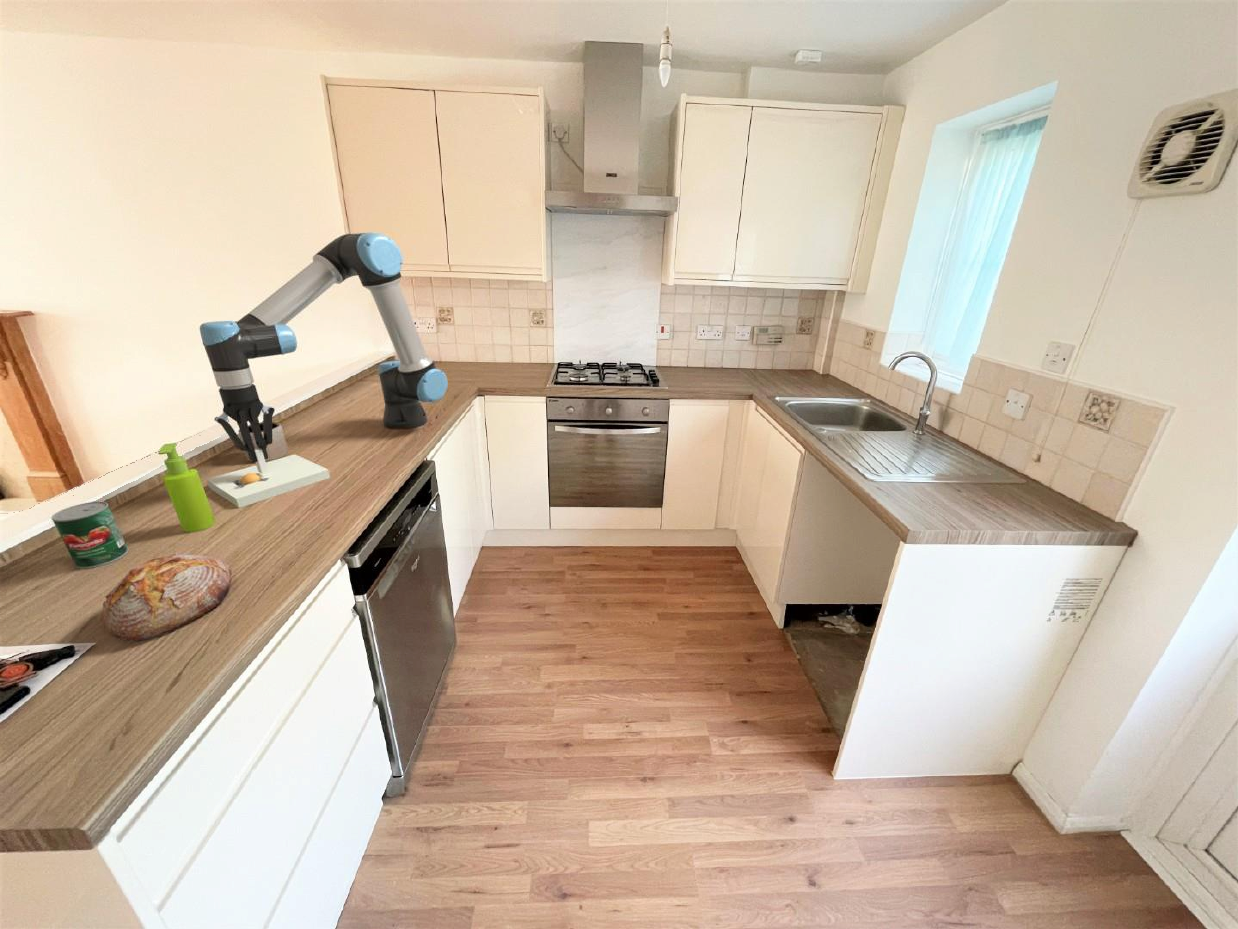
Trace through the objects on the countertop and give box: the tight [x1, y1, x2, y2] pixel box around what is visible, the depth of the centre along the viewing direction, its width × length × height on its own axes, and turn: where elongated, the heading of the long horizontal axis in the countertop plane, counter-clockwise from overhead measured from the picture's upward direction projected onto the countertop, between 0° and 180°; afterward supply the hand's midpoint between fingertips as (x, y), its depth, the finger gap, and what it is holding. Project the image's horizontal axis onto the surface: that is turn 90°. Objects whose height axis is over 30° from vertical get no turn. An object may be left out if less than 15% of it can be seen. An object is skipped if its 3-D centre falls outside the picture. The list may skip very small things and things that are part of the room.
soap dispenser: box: [157, 442, 217, 533], centre depth 109 cm, size 6×7×20 cm
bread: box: [102, 553, 233, 642], centre depth 86 cm, size 16×20×10 cm
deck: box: [205, 453, 331, 509], centre depth 134 cm, size 22×20×2 cm
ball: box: [242, 473, 260, 485], centre depth 130 cm, size 4×4×4 cm
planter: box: [237, 421, 290, 462], centre depth 151 cm, size 11×11×10 cm
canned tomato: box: [50, 501, 129, 570], centre depth 99 cm, size 8×8×11 cm
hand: (263, 471), depth 132 cm, fingers closed
